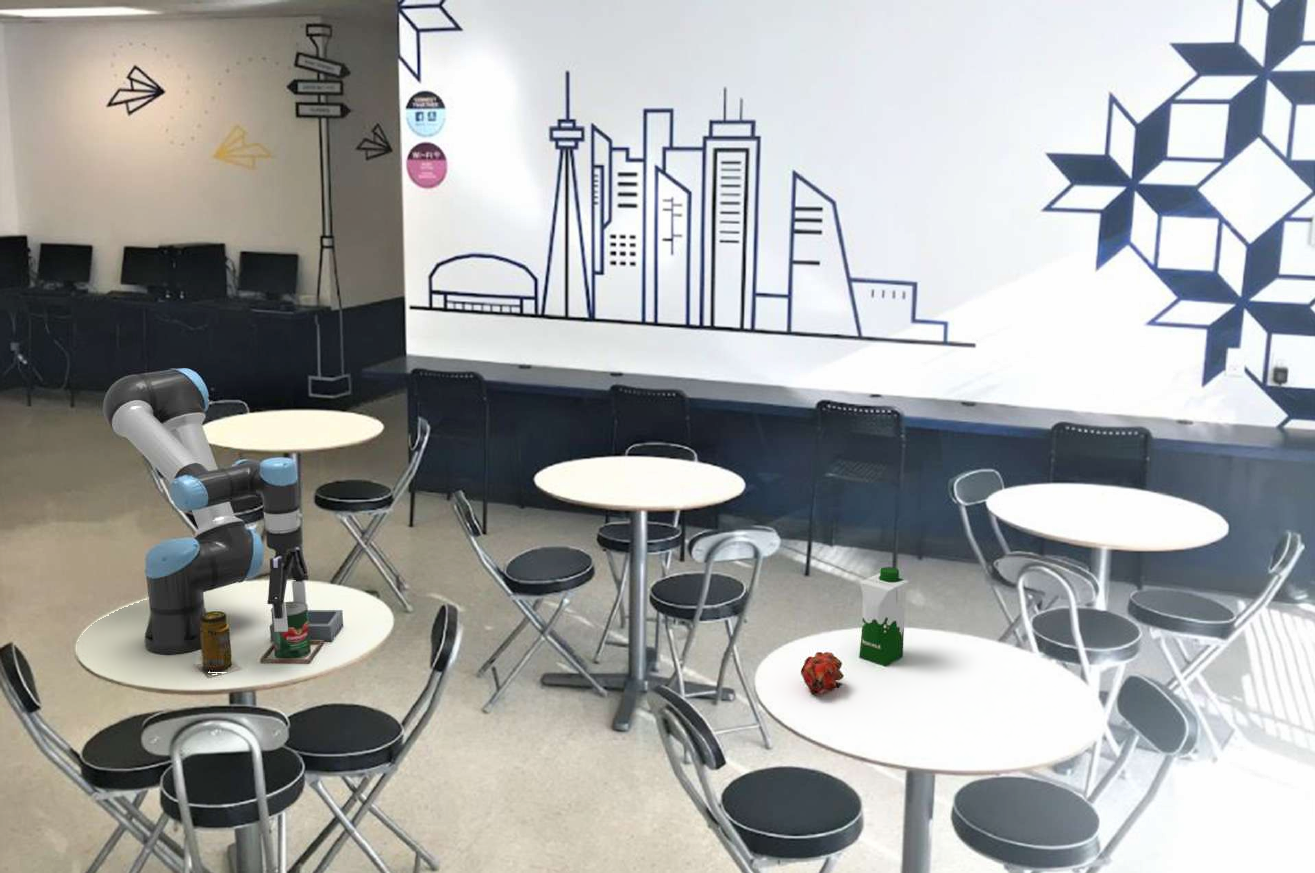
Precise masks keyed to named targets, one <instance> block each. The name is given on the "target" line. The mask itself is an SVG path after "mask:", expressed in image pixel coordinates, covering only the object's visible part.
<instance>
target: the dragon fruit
mask: <svg viewBox="0 0 1315 873" xmlns="http://www.w3.org/2000/svg"><path fill="white" fill-rule="evenodd" d="M842 665H843V662H842V661H841V660H840V659H838V657H837V656H835V655H834V654H833V653H832V652H829V651H826V652H821V651H820V652H819V651H817V652H816V653H815V654H814V656H808V657H807V658H806V659H805V660H804V663H803V665H802V667H801V670H800V675H801V676H802V679H803V681H804V683H805V685H806V686H807V687H808V689H809V690H810V691H809V692H810V693H811V694H812V695H813V696H816V694H818V695H819V694H826V693H827V691H828V692H833V691H835V690H836V689H837V690H838V689H840V688H841V686H842V685H843V682H840V681H841V680H843V679H844V677H845V676H844V674H843V672H842V671H841V668H842Z"/></svg>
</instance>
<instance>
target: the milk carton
mask: <svg viewBox="0 0 1315 873" xmlns="http://www.w3.org/2000/svg"><path fill="white" fill-rule="evenodd" d="M908 587H909V580H906V579H903V578H900V569H898V568H897V567H892V566H887V567H882V568H880V572H879V573H877V574H874V575H873V576H870V577H867V578H866V579H864V580H862V581H860V588H861V593H862V614H861V615H862V616H861V636H860V645H859V654H858V655H859V656H858V658H859V659H862V660H866V661H869V662H872V663H875V664H878V665H881V666H884V667H887V666H889V665H890V664H893V663H894V662H896V661H898V660H900V659H901V658H902V657H904V635H905V634H904V633H905V616H906V615H905V613H906V598H907V592H908Z"/></svg>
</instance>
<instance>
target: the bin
mask: <svg viewBox="0 0 1315 873" xmlns="http://www.w3.org/2000/svg"><path fill="white" fill-rule="evenodd" d="M343 617H344V616H343V609H308V620H309V636H310V640H324V642H332V643H333V641H334V640H335V638H336V637H337V636H336V635H338V634H339V633H340V632H341V629H343V627H344V618H343ZM272 627H273V626H272V623H271V624H270V625H269V632H270V634H269V635H270V642H271V643H274V639H273V628H272ZM334 637H335V638H334Z"/></svg>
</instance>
